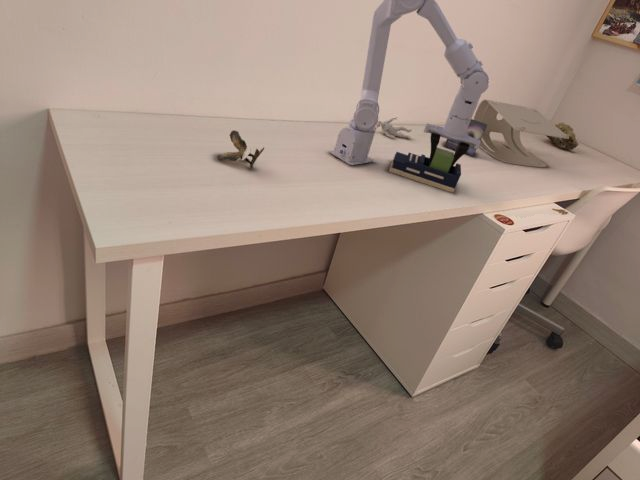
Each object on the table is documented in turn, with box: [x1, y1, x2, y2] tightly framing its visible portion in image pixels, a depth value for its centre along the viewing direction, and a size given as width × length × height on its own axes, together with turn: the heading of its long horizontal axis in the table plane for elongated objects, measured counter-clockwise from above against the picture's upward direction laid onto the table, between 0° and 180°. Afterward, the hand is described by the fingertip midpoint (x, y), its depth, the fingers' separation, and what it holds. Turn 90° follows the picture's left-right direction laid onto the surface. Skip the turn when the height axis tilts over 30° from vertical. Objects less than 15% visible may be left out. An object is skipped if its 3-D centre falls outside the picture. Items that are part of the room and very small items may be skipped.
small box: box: [443, 118, 487, 158], centre depth 153 cm, size 11×6×10 cm, turn 68°
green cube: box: [429, 146, 455, 173], centre depth 121 cm, size 5×5×5 cm
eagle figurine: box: [216, 129, 265, 170], centre depth 101 cm, size 8×7×9 cm
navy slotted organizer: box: [388, 151, 462, 194], centre depth 123 cm, size 18×8×6 cm, turn 75°
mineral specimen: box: [545, 121, 580, 150], centre depth 197 cm, size 14×13×10 cm
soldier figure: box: [376, 116, 412, 139], centre depth 150 cm, size 8×5×12 cm
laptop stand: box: [472, 99, 570, 168], centre depth 164 cm, size 26×24×16 cm
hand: (440, 164), depth 121 cm, fingers closed on green cube, 5 cm apart
